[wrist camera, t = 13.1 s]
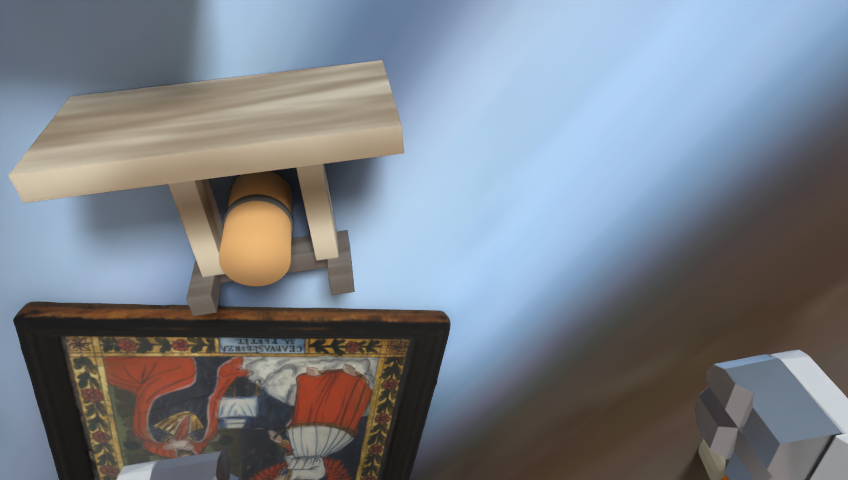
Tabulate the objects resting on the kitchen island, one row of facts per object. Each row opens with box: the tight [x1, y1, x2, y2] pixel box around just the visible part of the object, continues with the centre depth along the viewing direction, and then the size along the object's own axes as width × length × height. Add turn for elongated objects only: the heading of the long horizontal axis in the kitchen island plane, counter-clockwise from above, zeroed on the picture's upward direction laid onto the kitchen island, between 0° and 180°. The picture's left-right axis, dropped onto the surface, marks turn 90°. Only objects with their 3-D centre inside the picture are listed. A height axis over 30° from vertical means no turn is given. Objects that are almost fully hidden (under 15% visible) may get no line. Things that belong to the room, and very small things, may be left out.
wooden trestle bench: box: [8, 60, 404, 316], centre depth 35 cm, size 14×18×9 cm
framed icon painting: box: [13, 302, 450, 480], centre depth 55 cm, size 38×35×3 cm
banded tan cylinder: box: [219, 171, 293, 286], centre depth 37 cm, size 4×4×7 cm
